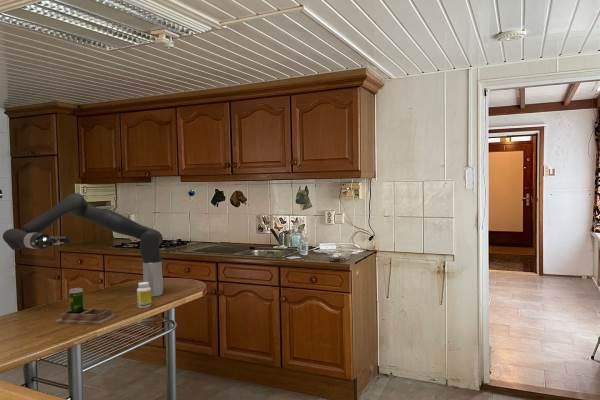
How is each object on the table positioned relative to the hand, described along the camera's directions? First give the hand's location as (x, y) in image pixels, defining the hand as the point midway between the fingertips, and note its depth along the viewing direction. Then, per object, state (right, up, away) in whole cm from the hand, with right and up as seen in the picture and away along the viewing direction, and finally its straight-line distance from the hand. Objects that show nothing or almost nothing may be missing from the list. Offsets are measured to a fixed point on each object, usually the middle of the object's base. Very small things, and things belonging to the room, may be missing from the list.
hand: (61, 242), depth 199 cm
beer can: (+12, -31, -9) cm, 35 cm away
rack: (+16, -32, -10) cm, 37 cm away
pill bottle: (+34, -31, +9) cm, 47 cm away
